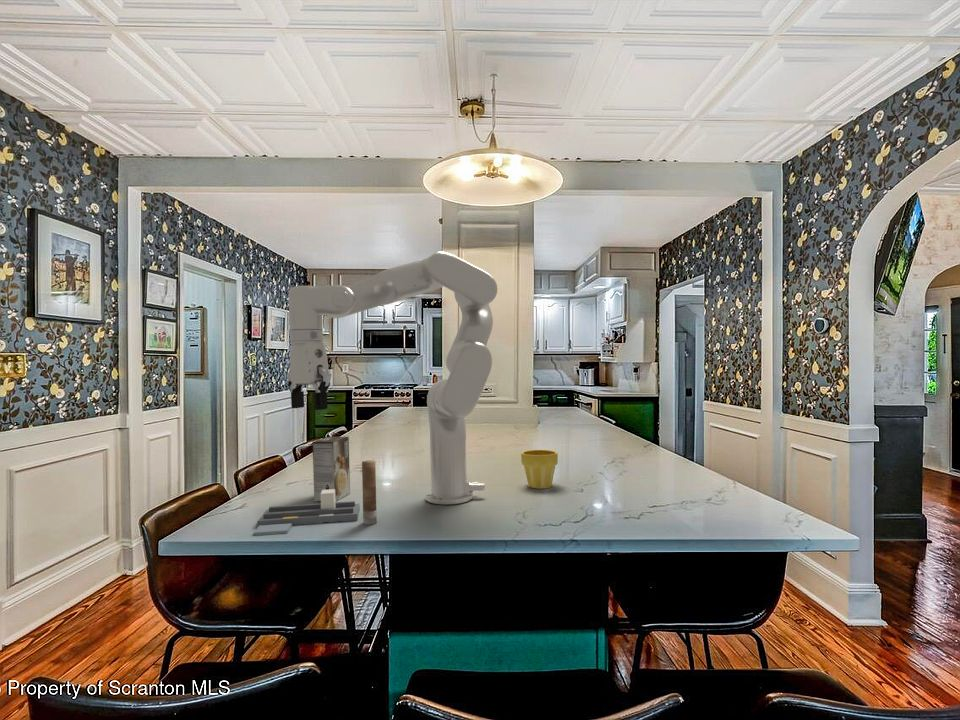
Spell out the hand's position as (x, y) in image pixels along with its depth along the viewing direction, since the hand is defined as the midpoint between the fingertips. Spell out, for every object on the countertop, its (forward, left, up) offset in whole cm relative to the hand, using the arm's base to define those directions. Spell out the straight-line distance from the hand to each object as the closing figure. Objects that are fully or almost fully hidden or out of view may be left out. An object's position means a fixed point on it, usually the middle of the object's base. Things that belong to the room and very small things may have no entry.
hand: (309, 408), depth 126 cm
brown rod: (-14, +9, -26) cm, 31 cm away
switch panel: (0, +2, -26) cm, 26 cm away
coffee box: (-3, -16, -26) cm, 31 cm away
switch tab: (-4, +2, -24) cm, 25 cm away
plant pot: (-61, -14, -26) cm, 68 cm away
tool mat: (+7, +10, -26) cm, 28 cm away
